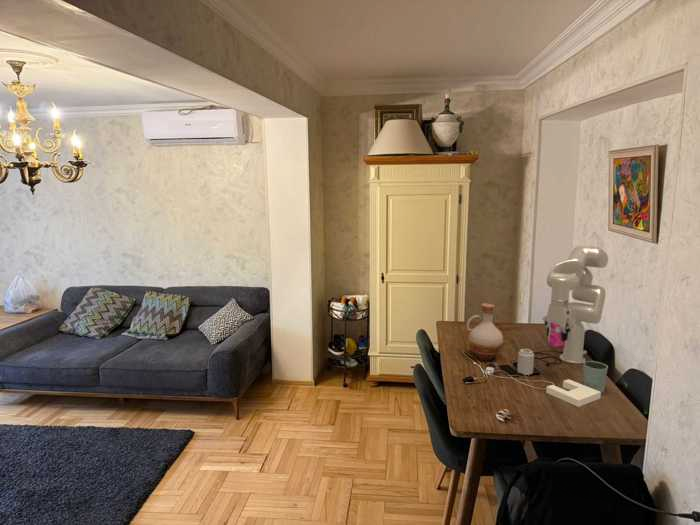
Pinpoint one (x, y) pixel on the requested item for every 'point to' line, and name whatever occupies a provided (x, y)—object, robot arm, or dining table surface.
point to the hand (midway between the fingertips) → (556, 337)
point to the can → (525, 361)
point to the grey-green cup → (595, 375)
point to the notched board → (574, 393)
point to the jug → (485, 335)
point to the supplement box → (555, 336)
